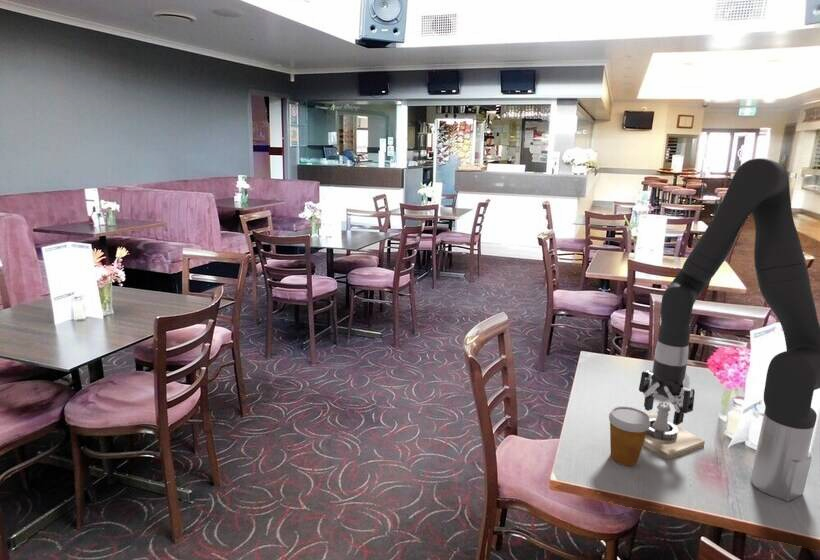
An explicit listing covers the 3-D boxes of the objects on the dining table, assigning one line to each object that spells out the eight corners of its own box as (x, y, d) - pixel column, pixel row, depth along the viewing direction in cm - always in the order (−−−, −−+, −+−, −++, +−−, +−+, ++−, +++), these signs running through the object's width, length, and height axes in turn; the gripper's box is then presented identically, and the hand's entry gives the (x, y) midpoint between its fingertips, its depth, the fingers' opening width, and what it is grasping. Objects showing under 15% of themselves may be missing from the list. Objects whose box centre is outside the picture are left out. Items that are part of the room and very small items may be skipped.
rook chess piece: (671, 437, 140) (675, 409, 138) (653, 435, 140) (657, 407, 138) (667, 428, 144) (671, 401, 142) (649, 427, 145) (653, 399, 143)
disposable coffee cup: (647, 455, 134) (653, 411, 131) (641, 474, 126) (648, 429, 123) (607, 444, 139) (613, 401, 136) (599, 462, 131) (605, 417, 128)
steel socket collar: (683, 436, 141) (684, 429, 140) (662, 443, 137) (663, 437, 136) (657, 421, 148) (658, 415, 147) (636, 428, 144) (637, 422, 143)
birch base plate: (704, 446, 139) (704, 440, 138) (667, 459, 133) (668, 454, 132) (651, 417, 153) (652, 412, 152) (616, 428, 146) (616, 423, 146)
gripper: (706, 366, 132) (696, 426, 136) (656, 347, 145) (649, 402, 149) (686, 372, 129) (676, 432, 133) (637, 351, 141) (630, 408, 145)
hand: (662, 416), depth 141 cm, fingers open, 8 cm apart
